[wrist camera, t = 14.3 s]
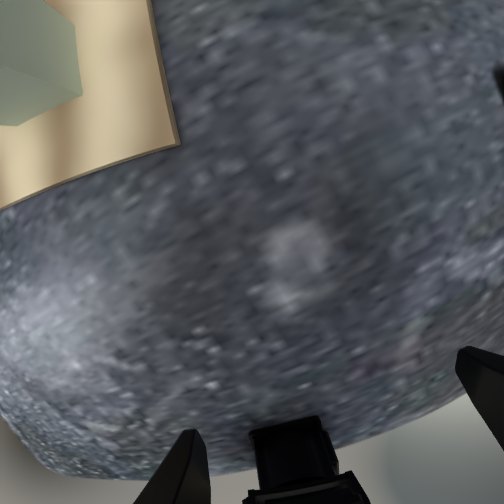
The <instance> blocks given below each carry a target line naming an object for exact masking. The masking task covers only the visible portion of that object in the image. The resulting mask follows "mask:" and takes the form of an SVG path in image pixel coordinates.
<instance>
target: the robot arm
mask: <svg viewBox="0 0 504 504" xmlns="http://www.w3.org/2000/svg"><path fill="white" fill-rule="evenodd" d="M455 371H456V374H457V376H458V377H459V379H460V381H461V383H462V385H463V387H464V388H465V390H466V392H467V394H468V396H469V398H470V399H471V401H472V403H473V404H474V406H475V408H476V409H477V411H478V412H479V414H480V415H481V416H482V418H483V420H484V421H485V423H486V424H487V426H488V427H489V429H490V430H491V432H492V433H493V435H494V436H495V438H496V439H497V441H498V443H499V444H500V446H501V447H502V449H503V451H504V356H502V355H499V354H495V353H492V352H489V351H485V350H482V349H479V348H475V347H472V346H465V347H463V348H461V349H460V350H459V351H458V353H457V359H456V365H455ZM314 421H315V422H314ZM249 439H250V441H251V444H252V446H253V449H254V451H255V458H256V466H257V473H258V480H259V487H260V490H254V489H252V490H248V497H247V498H246V499H244V500H242V503H243V504H371V503H370V501H369V499H368V497H367V495H366V493H365V492H364V490H363V488H362V487H361V485H360V484H359V482H358V480H357V479H356V477H355V476H354V474H353V472H352V471H347V472H345V473H343V474H339V462H338V459H337V456H336V453H335V451H334V448H333V445H332V443H331V440H330V437H329V435H328V432H327V431H322V428H321V421H320V418H319V417H317V416H315V417H310V418H307V419H303V420H299V421H295V422H291V423H287V424H283V425H279V426H274V427H270V428H265V429H260V430H256V431H252V432H250V433H249ZM133 504H211V487H210V478H209V469H208V461H207V452H206V446H205V443H204V441H203V439H202V438H201V436H200V434H199V432H198V430H197V429H186V430H184V431H182V433H181V434H180V436H179V437H178V439H177V440H176V442H175V443H174V445H173V446H172V448H171V449H170V451H169V452H168V454H167V455H166V457H165V458H164V460H163V461H162V463H161V464H160V466H159V467H158V469H157V470H156V472H155V473H154V474H153V476H152V477H151V479H150V480H149V482H148V483H147V485H146V486H145V488H144V489H143V491H142V492H141V493H140V495H139V496H138V498H137V499H136V500H135V502H134V503H133Z"/></svg>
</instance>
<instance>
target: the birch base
mask: <svg viewBox="0 0 504 504" xmlns="http://www.w3.org/2000/svg"><path fill="white" fill-rule="evenodd" d="M43 1H45V2H46V3H47V4H48V5H50V6H51V7H52V8H53V9H55V10H56V11H57V12H59V13H60V14H61V15H62V16H64V17H65V18H66V19H67V20H69V21H70V22H71V23H72V24H74V25H75V35H76V46H77V55H78V63H79V71H80V78H81V85H82V92H83V95H82V96H79V97H77V98H75V99H72V100H70V101H68V102H65V103H63V104H61V105H59V106H57V107H55V108H52V109H50V110H48V111H46V112H44V113H42V114H40V115H38V116H36V117H34V118H32V119H30V120H28V121H26V122H25V123H23V124H21V125H19V126H4V125H0V210H2V209H5V208H8V207H10V206H12V205H14V204H16V203H19V202H21V201H23V200H25V199H28V198H30V197H32V196H34V195H37V194H39V193H42V192H44V191H46V190H49V189H51V188H54V187H56V186H59V185H61V184H64V183H66V182H69V181H71V180H74V179H77V178H79V177H82V176H85V175H88V174H90V173H93V172H96V171H99V170H102V169H104V168H107V167H110V166H113V165H116V164H119V163H122V162H125V161H128V160H131V159H135V158H138V157H141V156H144V155H148V154H151V153H154V152H158V151H161V150H165V149H168V148H172V147H175V146H179V145H181V142H180V138H179V134H178V129H177V125H176V120H175V116H174V111H173V107H172V102H171V98H170V93H169V89H168V84H167V79H166V74H165V70H164V65H163V60H162V55H161V50H160V45H159V40H158V34H157V29H156V24H155V18H154V13H153V7H152V2H151V0H43Z"/></svg>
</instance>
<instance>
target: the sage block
mask: <svg viewBox="0 0 504 504" xmlns="http://www.w3.org/2000/svg"><path fill="white" fill-rule="evenodd" d="M82 95H83V92H82V85H81V78H80V71H79V63H78V55H77V46H76V35H75V25H74V24H72V23H71V22H70V21H69V20H67V19H66V18H65V17H64V16H62V15H61V14H60V13H59V12H57V11H56V10H55V9H53V8H52V7H51V6H50V5H48V4H47V3H46V2H45V1H43V0H0V125H4V126H19V125H21V124H23V123H25V122H26V121H28V120H30V119H32V118H34V117H36V116H38V115H40V114H42V113H44V112H46V111H48V110H50V109H52V108H55V107H57V106H59V105H61V104H63V103H65V102H68V101H70V100H72V99H75V98H77V97H79V96H82Z"/></svg>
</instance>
